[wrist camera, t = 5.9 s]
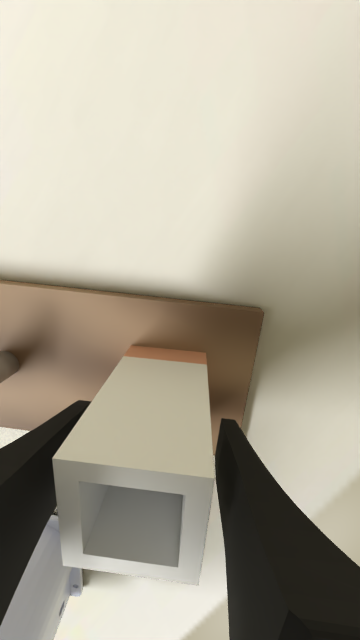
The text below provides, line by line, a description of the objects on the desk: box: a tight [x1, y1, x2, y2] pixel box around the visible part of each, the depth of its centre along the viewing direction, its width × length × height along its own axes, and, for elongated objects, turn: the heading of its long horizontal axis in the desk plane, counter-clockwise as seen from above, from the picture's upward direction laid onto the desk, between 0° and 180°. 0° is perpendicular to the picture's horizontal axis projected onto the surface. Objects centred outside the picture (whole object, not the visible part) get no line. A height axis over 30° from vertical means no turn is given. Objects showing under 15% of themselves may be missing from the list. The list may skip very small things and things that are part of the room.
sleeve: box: [52, 345, 215, 585], centre depth 11 cm, size 4×4×8 cm
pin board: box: [0, 280, 264, 455], centre depth 14 cm, size 10×20×4 cm, turn 84°
